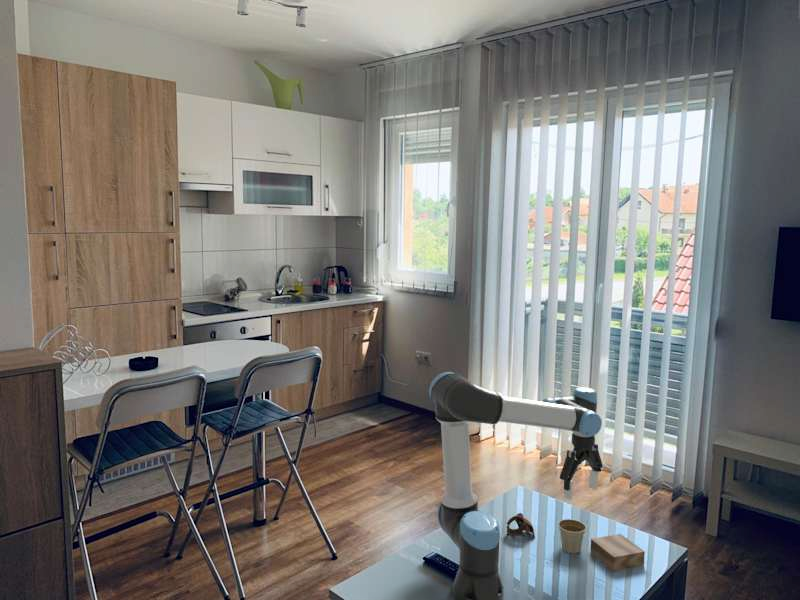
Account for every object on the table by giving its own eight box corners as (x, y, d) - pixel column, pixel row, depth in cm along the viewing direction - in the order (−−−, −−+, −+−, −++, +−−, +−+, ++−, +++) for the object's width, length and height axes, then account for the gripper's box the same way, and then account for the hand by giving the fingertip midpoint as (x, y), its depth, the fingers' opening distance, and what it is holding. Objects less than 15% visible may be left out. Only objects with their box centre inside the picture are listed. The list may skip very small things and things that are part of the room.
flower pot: (551, 545, 207) (552, 521, 206) (572, 539, 211) (573, 516, 210) (569, 559, 199) (570, 534, 198) (591, 552, 203) (592, 528, 202)
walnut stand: (613, 571, 191) (613, 557, 191) (590, 552, 203) (591, 538, 202) (643, 565, 195) (644, 551, 195) (619, 547, 206) (620, 533, 206)
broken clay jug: (538, 544, 209) (529, 527, 206) (513, 552, 211) (504, 536, 209) (533, 520, 220) (525, 503, 218) (510, 528, 222) (501, 512, 220)
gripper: (568, 444, 191) (566, 507, 193) (615, 429, 205) (612, 488, 208) (550, 437, 197) (547, 498, 199) (596, 423, 211) (593, 481, 214)
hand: (580, 493), depth 203 cm, fingers open, 13 cm apart
